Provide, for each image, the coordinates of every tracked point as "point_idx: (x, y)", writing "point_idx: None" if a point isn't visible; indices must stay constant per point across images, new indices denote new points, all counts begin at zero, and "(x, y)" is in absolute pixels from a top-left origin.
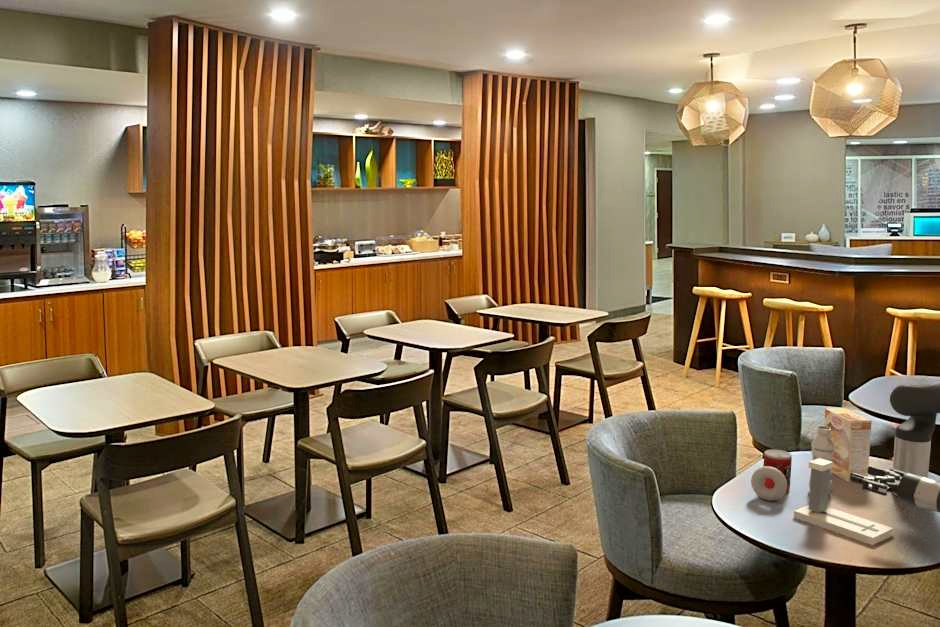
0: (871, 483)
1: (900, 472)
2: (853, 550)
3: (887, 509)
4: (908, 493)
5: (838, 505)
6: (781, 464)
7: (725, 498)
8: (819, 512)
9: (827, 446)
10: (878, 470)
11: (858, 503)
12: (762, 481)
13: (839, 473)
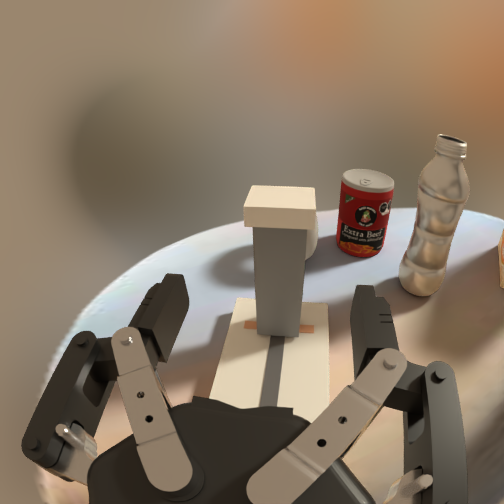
0: (55, 377)
1: (433, 442)
2: None
3: (479, 400)
4: None
5: (397, 333)
6: (352, 198)
7: (243, 225)
8: (259, 333)
9: (439, 185)
10: (363, 335)
11: (448, 349)
12: None
13: (501, 266)
